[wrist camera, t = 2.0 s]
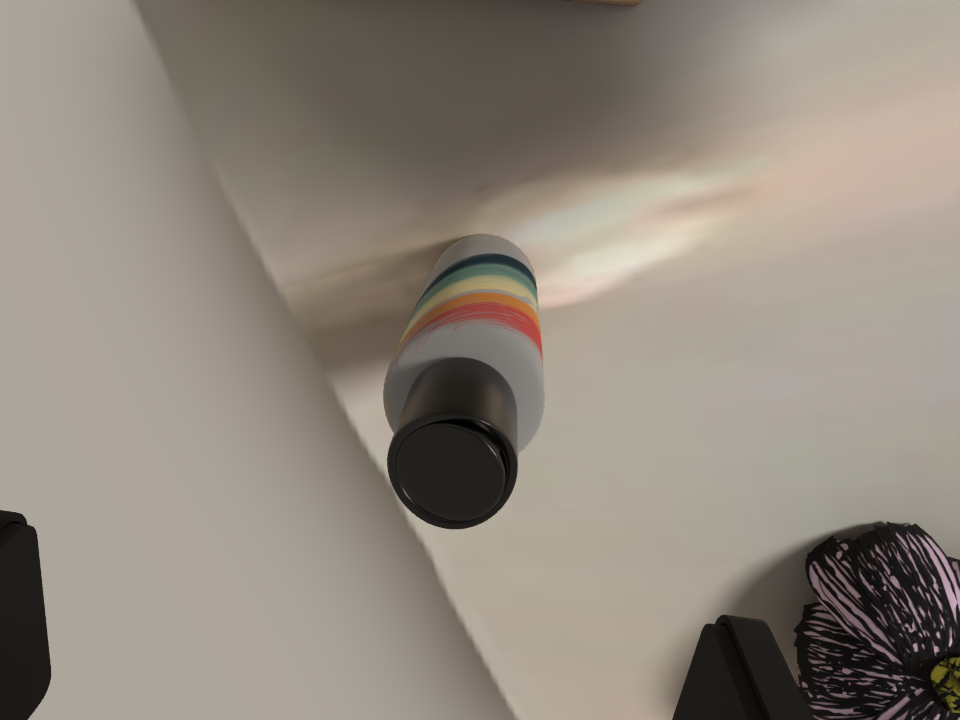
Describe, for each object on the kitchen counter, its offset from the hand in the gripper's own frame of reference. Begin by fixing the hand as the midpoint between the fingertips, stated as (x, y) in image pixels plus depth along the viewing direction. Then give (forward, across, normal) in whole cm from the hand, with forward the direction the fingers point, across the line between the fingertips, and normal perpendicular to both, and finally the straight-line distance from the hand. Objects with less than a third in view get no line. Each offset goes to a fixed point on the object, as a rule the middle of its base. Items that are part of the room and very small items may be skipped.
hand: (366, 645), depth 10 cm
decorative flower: (+30, -29, +20) cm, 46 cm away
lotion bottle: (+30, -1, +3) cm, 30 cm away
